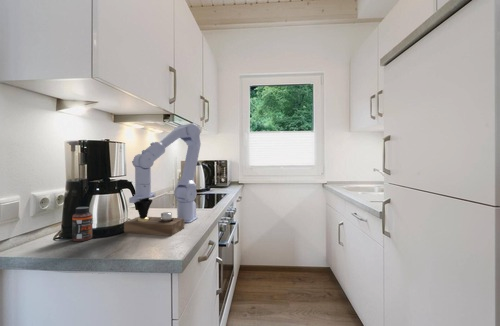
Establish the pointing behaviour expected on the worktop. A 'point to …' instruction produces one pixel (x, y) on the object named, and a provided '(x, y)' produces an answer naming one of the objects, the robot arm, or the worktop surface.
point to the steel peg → (166, 217)
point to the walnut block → (154, 226)
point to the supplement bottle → (82, 224)
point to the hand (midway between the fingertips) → (143, 217)
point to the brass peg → (143, 219)
